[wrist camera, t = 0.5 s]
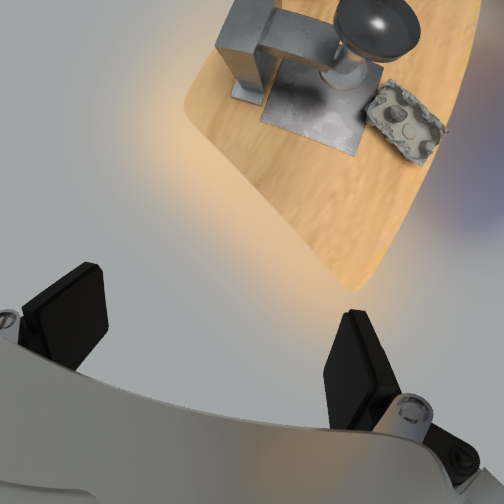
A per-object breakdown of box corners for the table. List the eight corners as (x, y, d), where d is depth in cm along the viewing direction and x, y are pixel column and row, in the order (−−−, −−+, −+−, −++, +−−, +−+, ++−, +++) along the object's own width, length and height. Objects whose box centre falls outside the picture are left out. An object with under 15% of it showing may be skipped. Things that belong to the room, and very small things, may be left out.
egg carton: (438, 134, 32) (452, 133, 28) (409, 169, 34) (422, 172, 31) (386, 78, 30) (397, 72, 27) (354, 114, 33) (363, 110, 29)
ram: (322, 41, 22) (349, -26, 10) (369, 60, 22) (425, 9, 10) (307, 82, 24) (329, 30, 11) (356, 101, 24) (412, 68, 12)
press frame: (261, 24, 30) (247, -47, 14) (383, 68, 30) (443, 25, 14) (227, 111, 35) (186, 82, 18) (353, 156, 35) (407, 162, 19)
